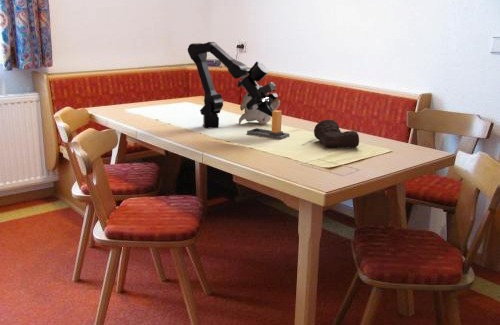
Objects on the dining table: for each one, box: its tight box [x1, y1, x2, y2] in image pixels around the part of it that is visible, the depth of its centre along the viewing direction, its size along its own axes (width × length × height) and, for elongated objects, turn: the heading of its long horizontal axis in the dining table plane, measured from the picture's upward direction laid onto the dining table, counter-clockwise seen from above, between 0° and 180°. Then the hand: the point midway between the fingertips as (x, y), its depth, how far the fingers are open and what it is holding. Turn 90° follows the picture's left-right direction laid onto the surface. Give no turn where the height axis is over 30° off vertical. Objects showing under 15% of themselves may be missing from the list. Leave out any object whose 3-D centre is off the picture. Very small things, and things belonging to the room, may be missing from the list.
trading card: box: [300, 161, 361, 177], centre depth 170 cm, size 11×1×18 cm
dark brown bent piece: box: [313, 119, 360, 149], centre depth 199 cm, size 10×15×15 cm
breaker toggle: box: [270, 109, 284, 136], centre depth 207 cm, size 4×5×11 cm
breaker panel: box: [246, 127, 290, 141], centre depth 211 cm, size 18×12×2 cm, turn 57°
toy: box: [238, 93, 281, 125], centre depth 232 cm, size 8×15×20 cm
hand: (273, 116), depth 207 cm, fingers closed, pressing on breaker toggle
